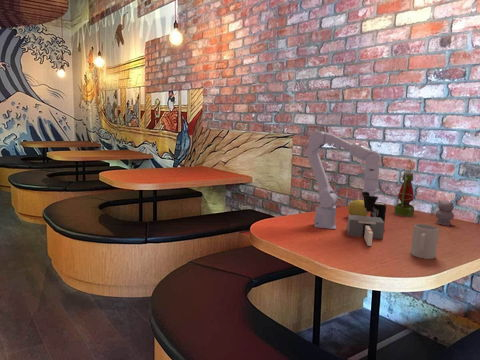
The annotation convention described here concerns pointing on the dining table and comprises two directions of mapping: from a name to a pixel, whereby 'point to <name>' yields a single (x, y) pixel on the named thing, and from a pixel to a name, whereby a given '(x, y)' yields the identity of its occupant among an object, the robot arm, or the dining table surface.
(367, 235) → the pale narrow strip
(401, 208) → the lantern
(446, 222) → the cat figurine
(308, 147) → the robot arm
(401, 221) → the dining table surface
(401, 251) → the dining table surface
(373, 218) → the panel
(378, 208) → the beverage can
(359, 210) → the fruit
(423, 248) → the mug
